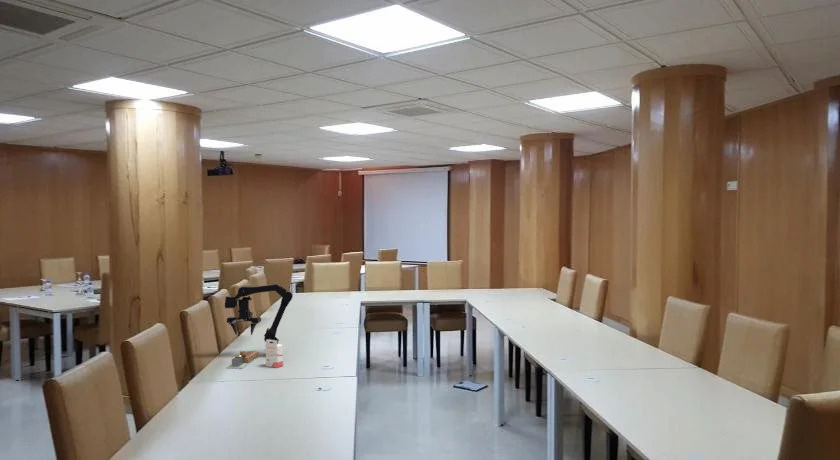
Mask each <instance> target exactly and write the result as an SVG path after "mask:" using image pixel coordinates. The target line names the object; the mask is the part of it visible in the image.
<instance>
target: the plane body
mask: <svg viewBox="0 0 840 460" xmlns="http://www.w3.org/2000/svg"><path fill="white" fill-rule="evenodd" d="M239 355H242V357H243V363H249V364H250V363H252V362H253V361H254V359H255V360H256V359H258V358H259V357H260V356H259V351H256V350H254V351H253V350H252V351H250V350H247V351H243V350H242V351H240V352H239ZM251 361H252V362H251Z"/></svg>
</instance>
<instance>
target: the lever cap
mask: <svg viewBox="0 0 840 460" xmlns="http://www.w3.org/2000/svg"><path fill="white" fill-rule="evenodd" d="M231 364H232V367H239V366H241V365H242V364H243V357H242V355H240V354H238V355H237V354H236V355H235V357H233V358H231Z"/></svg>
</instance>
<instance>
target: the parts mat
mask: <svg viewBox="0 0 840 460" xmlns="http://www.w3.org/2000/svg"><path fill="white" fill-rule="evenodd" d="M249 364H250V363H243V364H242V365H241V366H239V367H232V363H231V364H229V365H228V366H225V369H233V368H234V369H235V370H237V369H240V370H242V368H246V367H247V366H249Z"/></svg>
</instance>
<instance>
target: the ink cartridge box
mask: <svg viewBox="0 0 840 460" xmlns="http://www.w3.org/2000/svg"><path fill="white" fill-rule="evenodd" d="M270 342H273V343H270ZM265 367H271V368H275V369H276V368H281V367H284V344H280V343H278V344H277V340H268V339H266V342H265Z"/></svg>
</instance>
